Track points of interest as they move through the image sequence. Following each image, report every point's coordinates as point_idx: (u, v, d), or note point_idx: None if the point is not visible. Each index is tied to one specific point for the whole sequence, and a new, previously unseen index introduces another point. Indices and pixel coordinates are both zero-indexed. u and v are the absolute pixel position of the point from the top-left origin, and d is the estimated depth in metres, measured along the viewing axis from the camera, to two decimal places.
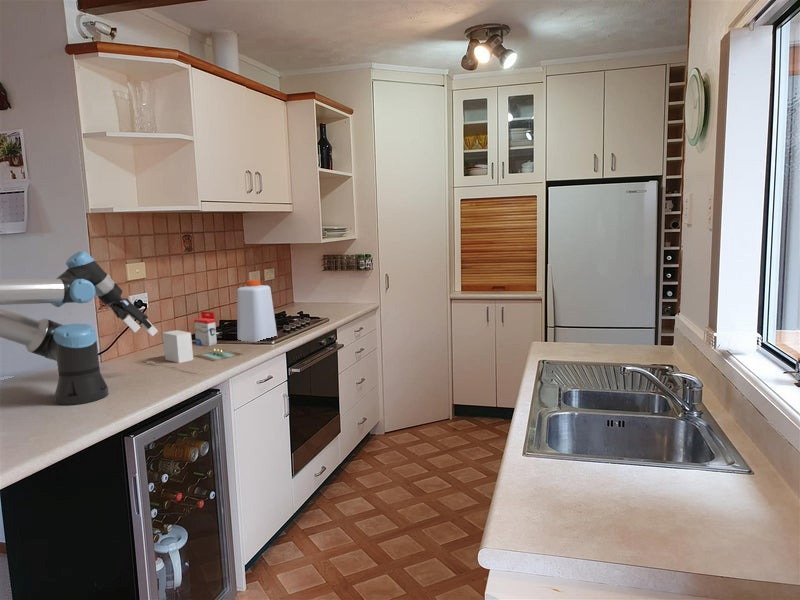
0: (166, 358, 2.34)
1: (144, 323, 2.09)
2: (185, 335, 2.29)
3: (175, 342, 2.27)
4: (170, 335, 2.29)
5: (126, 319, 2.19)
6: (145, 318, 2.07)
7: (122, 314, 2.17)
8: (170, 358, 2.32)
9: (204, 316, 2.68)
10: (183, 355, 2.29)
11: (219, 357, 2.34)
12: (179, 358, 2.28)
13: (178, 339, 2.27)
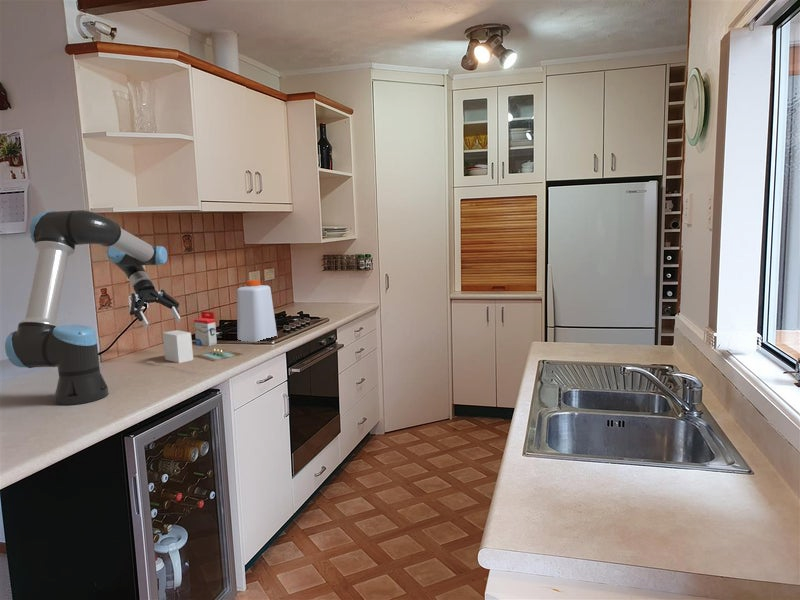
0: (166, 358, 2.34)
1: (176, 308, 2.46)
2: (185, 335, 2.29)
3: (175, 342, 2.27)
4: (170, 335, 2.29)
5: None
6: (178, 305, 2.49)
7: None
8: (170, 358, 2.32)
9: (204, 316, 2.68)
10: (183, 355, 2.29)
11: (219, 357, 2.34)
12: (179, 358, 2.28)
13: (178, 339, 2.27)
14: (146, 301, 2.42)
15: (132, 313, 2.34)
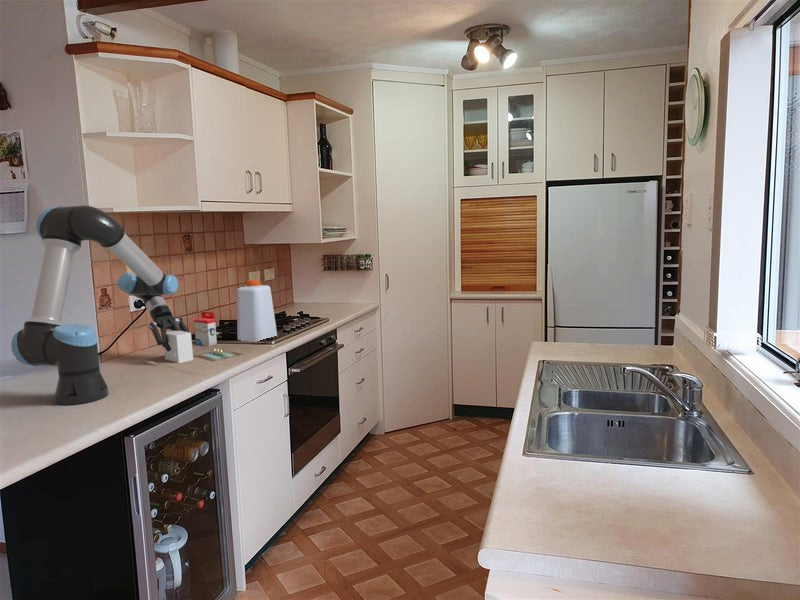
0: (166, 358, 2.34)
1: None
2: (185, 335, 2.29)
3: (175, 342, 2.27)
4: (170, 335, 2.29)
5: None
6: None
7: None
8: (170, 358, 2.32)
9: (204, 316, 2.68)
10: (183, 355, 2.29)
11: (219, 357, 2.34)
12: (179, 358, 2.28)
13: (178, 339, 2.27)
14: None
15: (161, 343, 2.29)
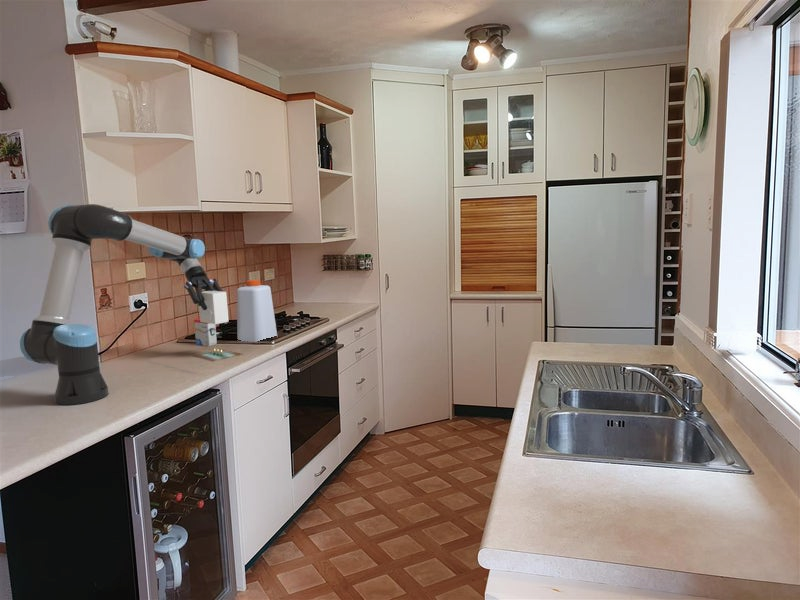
0: (201, 317, 2.37)
1: None
2: (221, 294, 2.32)
3: (211, 300, 2.30)
4: (206, 294, 2.32)
5: None
6: None
7: None
8: (205, 317, 2.35)
9: None
10: (219, 314, 2.32)
11: (219, 357, 2.34)
12: (215, 316, 2.31)
13: (214, 297, 2.30)
14: None
15: (197, 302, 2.32)
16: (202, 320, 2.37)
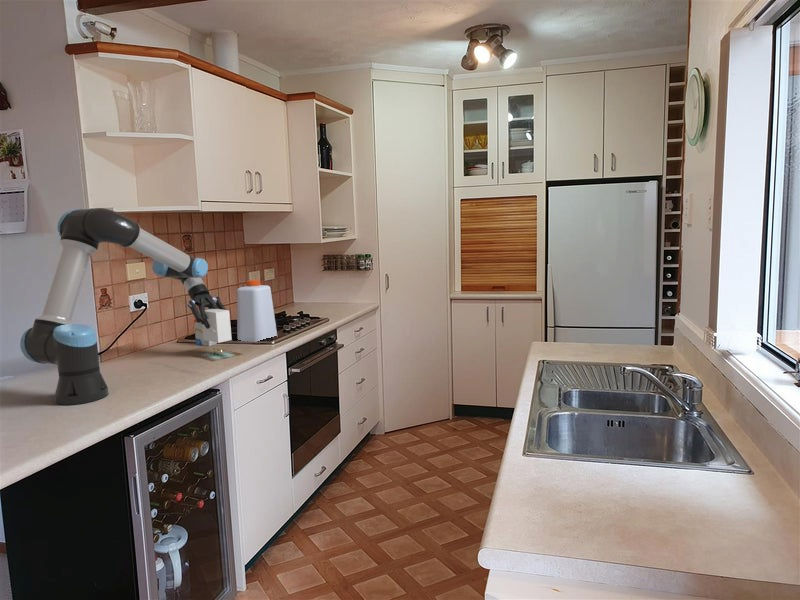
0: (204, 336, 2.38)
1: None
2: (224, 313, 2.33)
3: (214, 319, 2.32)
4: (209, 313, 2.34)
5: None
6: None
7: None
8: (209, 335, 2.36)
9: None
10: (222, 332, 2.33)
11: (219, 357, 2.34)
12: (218, 335, 2.32)
13: (217, 316, 2.31)
14: None
15: (200, 320, 2.33)
16: (205, 338, 2.38)
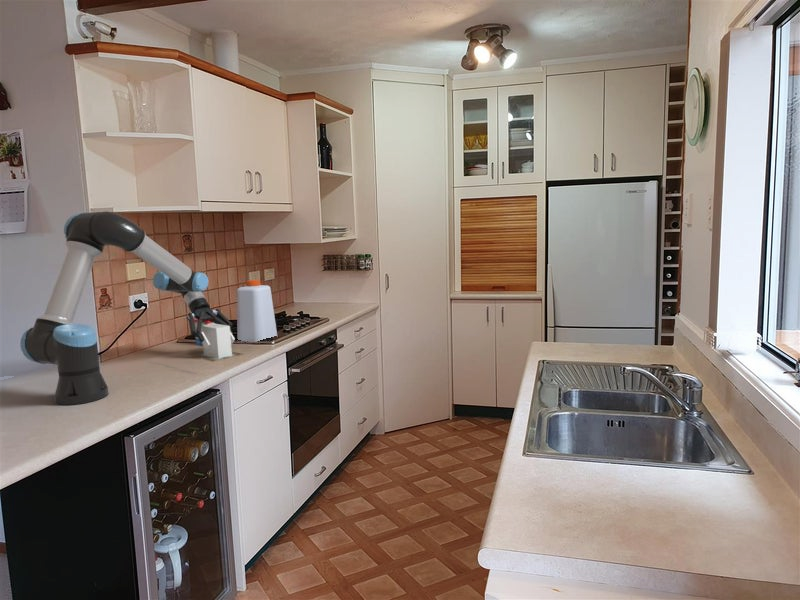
0: (205, 351, 2.39)
1: None
2: (225, 328, 2.34)
3: (215, 334, 2.32)
4: (209, 328, 2.34)
5: None
6: None
7: (200, 328, 2.35)
8: (209, 351, 2.37)
9: None
10: (222, 348, 2.34)
11: None
12: (218, 350, 2.33)
13: (218, 332, 2.32)
14: (202, 320, 2.39)
15: (194, 334, 2.32)
16: (205, 353, 2.39)
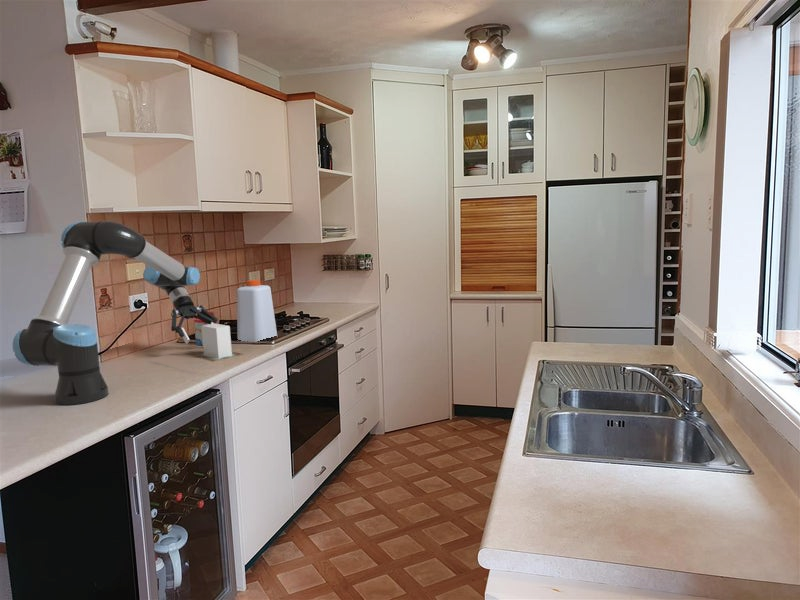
0: (205, 351, 2.39)
1: (215, 323, 2.53)
2: (225, 328, 2.34)
3: (215, 334, 2.32)
4: (209, 328, 2.34)
5: None
6: None
7: (181, 324, 2.43)
8: (209, 351, 2.37)
9: None
10: (222, 348, 2.34)
11: None
12: (218, 350, 2.33)
13: (218, 332, 2.32)
14: (186, 317, 2.48)
15: (174, 329, 2.40)
16: (205, 353, 2.39)
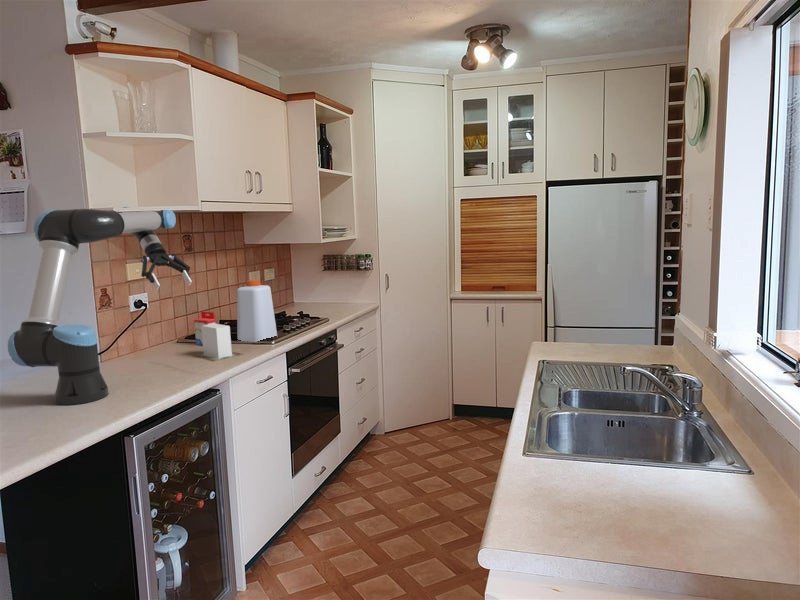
0: (205, 351, 2.39)
1: (187, 271, 2.46)
2: (225, 328, 2.34)
3: (215, 334, 2.32)
4: (209, 328, 2.34)
5: None
6: (189, 269, 2.49)
7: (152, 270, 2.37)
8: (209, 351, 2.37)
9: (204, 316, 2.68)
10: (222, 348, 2.34)
11: None
12: (218, 350, 2.33)
13: (218, 332, 2.32)
14: (157, 264, 2.41)
15: (144, 275, 2.34)
16: (205, 353, 2.39)
